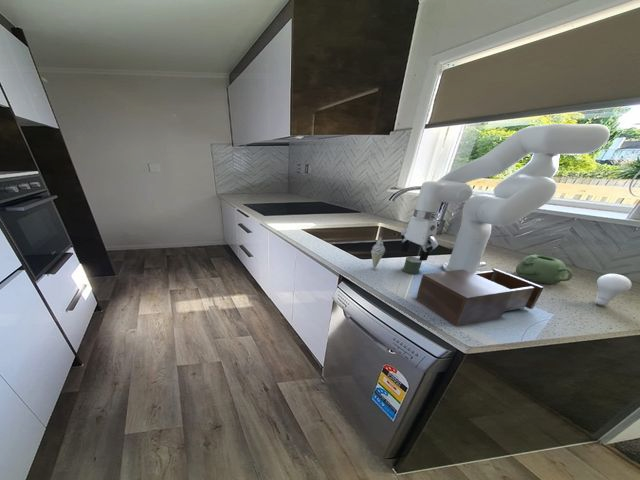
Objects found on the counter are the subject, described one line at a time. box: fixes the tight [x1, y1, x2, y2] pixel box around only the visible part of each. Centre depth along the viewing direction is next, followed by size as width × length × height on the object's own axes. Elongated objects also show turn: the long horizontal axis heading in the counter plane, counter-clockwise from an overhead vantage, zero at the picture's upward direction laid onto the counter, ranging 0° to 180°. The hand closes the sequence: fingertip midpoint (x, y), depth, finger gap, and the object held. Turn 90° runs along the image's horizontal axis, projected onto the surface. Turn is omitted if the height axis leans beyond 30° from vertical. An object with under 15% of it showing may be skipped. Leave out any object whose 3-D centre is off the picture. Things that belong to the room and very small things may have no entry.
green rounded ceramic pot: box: [515, 254, 574, 285], centre depth 93 cm, size 16×13×9 cm
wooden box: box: [415, 269, 513, 327], centre depth 76 cm, size 17×15×10 cm
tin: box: [403, 256, 423, 275], centre depth 102 cm, size 6×6×6 cm
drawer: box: [474, 268, 545, 312], centre depth 79 cm, size 20×13×8 cm
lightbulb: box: [594, 273, 632, 306], centre depth 77 cm, size 6×6×11 cm
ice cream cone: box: [370, 236, 386, 271], centre depth 102 cm, size 5×5×15 cm
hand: (413, 255), depth 100 cm, fingers open, 9 cm apart
